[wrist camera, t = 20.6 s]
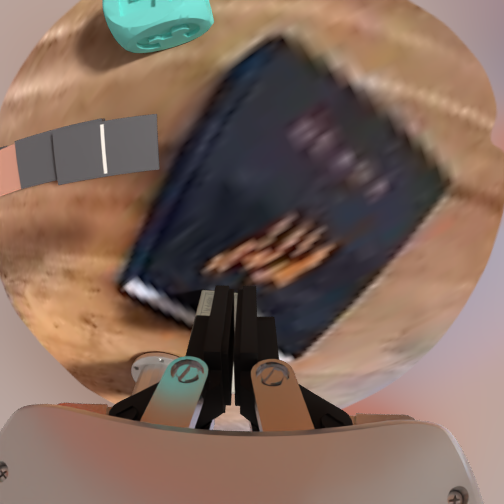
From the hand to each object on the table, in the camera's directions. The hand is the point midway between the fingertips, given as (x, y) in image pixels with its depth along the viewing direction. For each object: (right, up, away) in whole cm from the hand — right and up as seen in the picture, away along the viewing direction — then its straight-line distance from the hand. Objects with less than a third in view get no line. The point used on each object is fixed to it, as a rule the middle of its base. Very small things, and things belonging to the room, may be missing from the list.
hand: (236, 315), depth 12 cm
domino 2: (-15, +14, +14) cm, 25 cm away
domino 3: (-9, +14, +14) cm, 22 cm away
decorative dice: (-7, +27, +9) cm, 29 cm away
